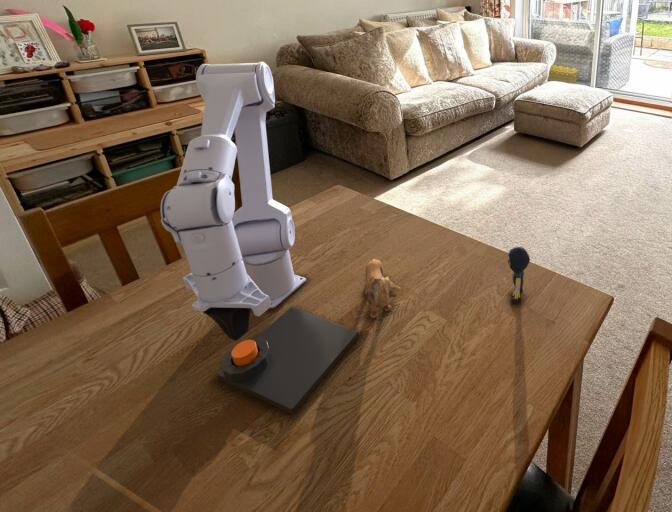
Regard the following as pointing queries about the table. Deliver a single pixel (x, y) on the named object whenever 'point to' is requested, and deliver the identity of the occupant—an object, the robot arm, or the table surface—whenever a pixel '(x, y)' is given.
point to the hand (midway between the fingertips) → (239, 334)
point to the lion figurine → (378, 288)
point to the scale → (290, 359)
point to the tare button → (244, 352)
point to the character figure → (518, 270)
